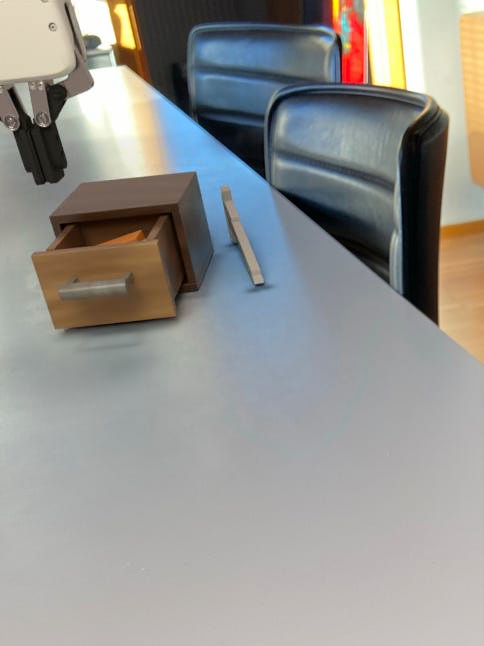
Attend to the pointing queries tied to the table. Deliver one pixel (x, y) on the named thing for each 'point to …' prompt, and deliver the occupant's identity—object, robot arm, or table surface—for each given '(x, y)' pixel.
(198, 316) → the table surface
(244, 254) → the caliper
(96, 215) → the cabinet
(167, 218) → the drawer
